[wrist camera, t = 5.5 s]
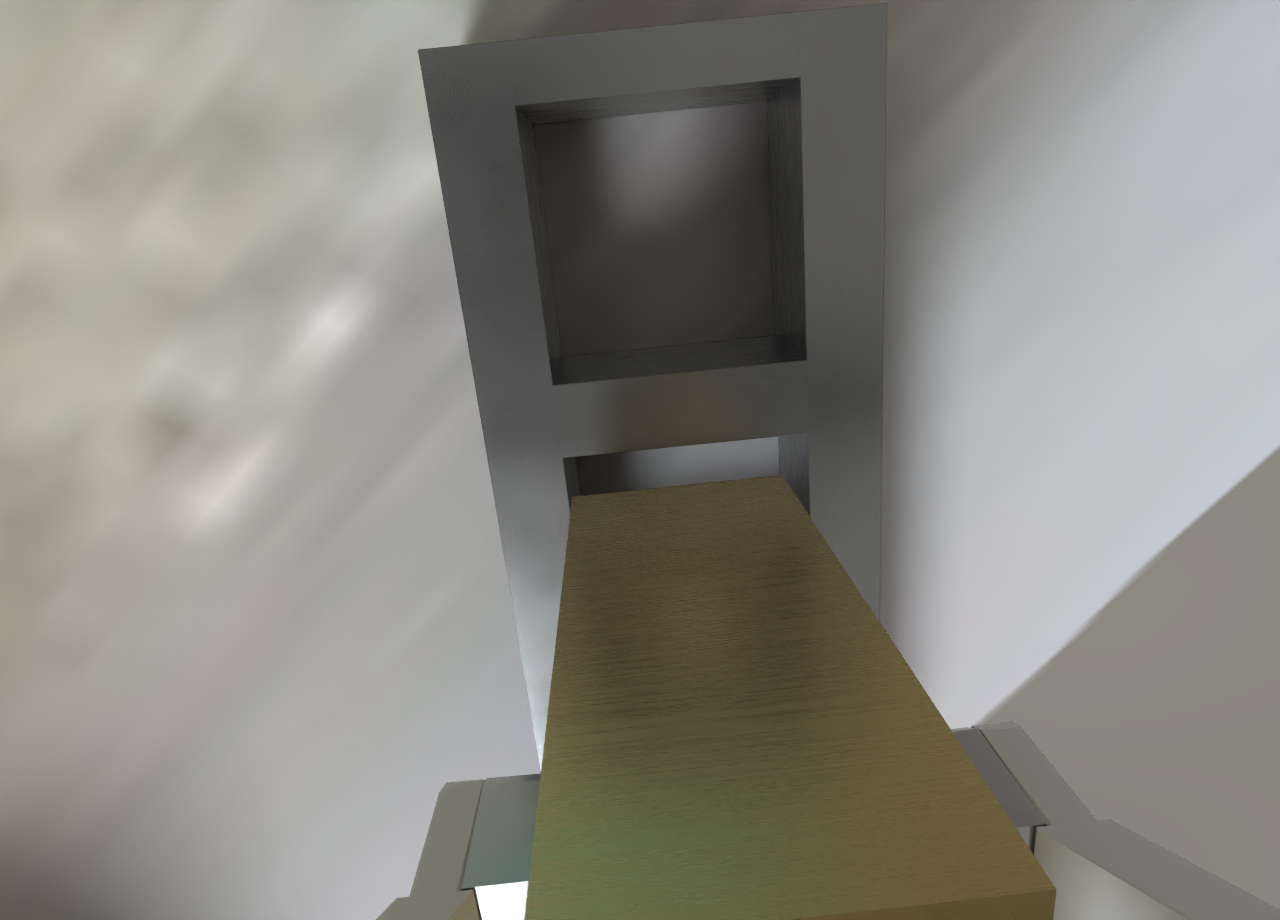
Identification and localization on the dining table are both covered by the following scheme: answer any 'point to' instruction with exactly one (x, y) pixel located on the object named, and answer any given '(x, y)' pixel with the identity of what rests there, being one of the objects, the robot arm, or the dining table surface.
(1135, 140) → the dining table surface
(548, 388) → the grey peg holder tray
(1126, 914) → the robot arm
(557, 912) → the brass peg
